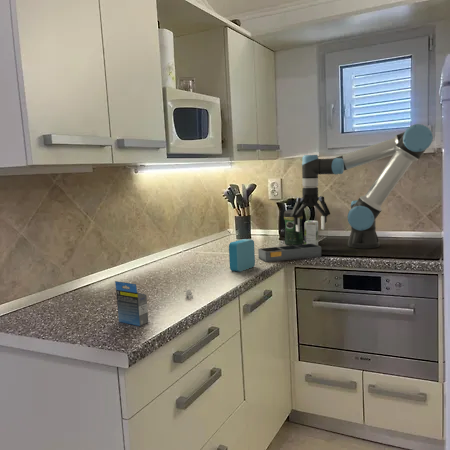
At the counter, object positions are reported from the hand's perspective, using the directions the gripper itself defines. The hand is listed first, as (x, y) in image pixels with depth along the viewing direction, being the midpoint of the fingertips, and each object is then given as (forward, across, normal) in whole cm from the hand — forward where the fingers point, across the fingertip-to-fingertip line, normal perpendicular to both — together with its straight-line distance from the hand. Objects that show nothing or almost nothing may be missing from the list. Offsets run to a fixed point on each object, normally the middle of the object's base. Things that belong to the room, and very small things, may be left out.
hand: (310, 230), depth 225 cm
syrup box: (+10, 0, 0) cm, 10 cm away
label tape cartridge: (+11, +92, +73) cm, 118 cm away
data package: (+10, +43, +23) cm, 50 cm away
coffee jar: (+10, +1, -19) cm, 21 cm away
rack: (+10, +16, +11) cm, 22 cm away
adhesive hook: (+11, +73, +56) cm, 93 cm away
